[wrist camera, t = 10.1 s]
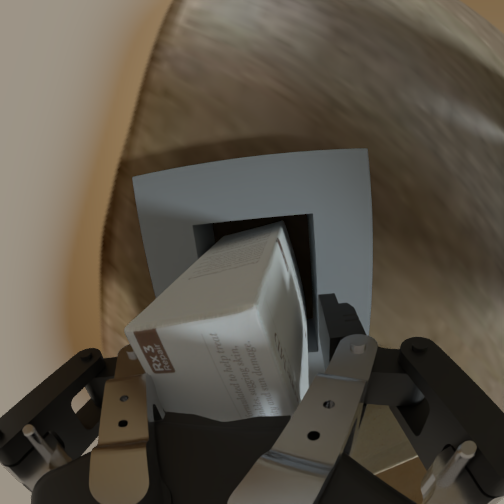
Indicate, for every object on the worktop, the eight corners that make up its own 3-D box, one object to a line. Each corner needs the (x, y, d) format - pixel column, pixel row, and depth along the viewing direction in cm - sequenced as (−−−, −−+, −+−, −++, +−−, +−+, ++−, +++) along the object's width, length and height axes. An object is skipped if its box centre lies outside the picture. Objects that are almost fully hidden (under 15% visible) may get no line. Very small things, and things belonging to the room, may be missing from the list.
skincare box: (307, 301, 19) (322, 454, 8) (245, 316, 20) (201, 463, 8) (283, 213, 18) (273, 301, 6) (215, 233, 19) (114, 333, 7)
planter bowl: (479, 378, 20) (524, 448, 10) (370, 464, 25) (382, 537, 14) (398, 302, 19) (468, 406, 8) (264, 423, 23) (252, 523, 13)
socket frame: (348, 152, 16) (367, 148, 12) (352, 348, 20) (363, 382, 16) (161, 173, 18) (132, 176, 14) (197, 356, 22) (183, 389, 18)
